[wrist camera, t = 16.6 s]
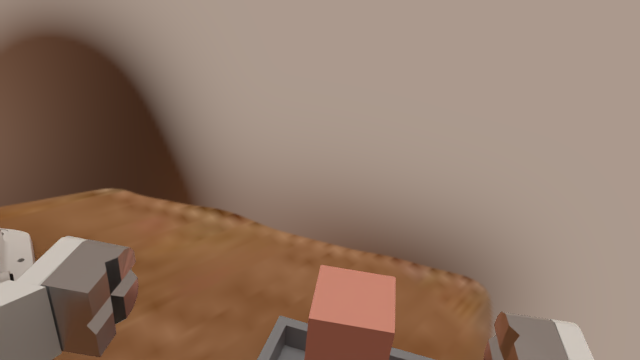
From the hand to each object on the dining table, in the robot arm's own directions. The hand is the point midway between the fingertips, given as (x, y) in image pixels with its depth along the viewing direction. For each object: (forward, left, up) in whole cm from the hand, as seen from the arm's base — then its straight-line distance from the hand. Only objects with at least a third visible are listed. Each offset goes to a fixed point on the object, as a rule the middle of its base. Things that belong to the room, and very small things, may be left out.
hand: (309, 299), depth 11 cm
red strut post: (-11, +7, -23) cm, 27 cm away
